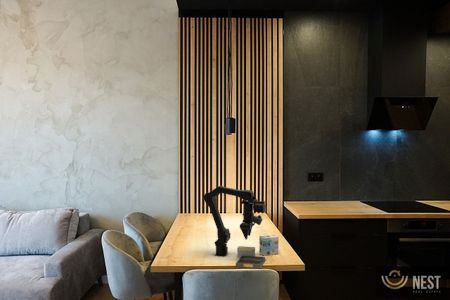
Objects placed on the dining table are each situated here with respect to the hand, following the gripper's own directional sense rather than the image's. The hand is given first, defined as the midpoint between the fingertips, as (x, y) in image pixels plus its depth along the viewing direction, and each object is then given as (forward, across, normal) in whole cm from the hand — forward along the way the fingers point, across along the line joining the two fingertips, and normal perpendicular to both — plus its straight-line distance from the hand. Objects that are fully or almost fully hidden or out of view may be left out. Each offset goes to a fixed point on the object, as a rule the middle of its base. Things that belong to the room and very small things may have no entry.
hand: (247, 237), depth 218 cm
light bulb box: (+12, +11, -12) cm, 20 cm away
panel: (+12, 0, +1) cm, 12 cm away
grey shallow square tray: (+12, -11, -4) cm, 17 cm away
